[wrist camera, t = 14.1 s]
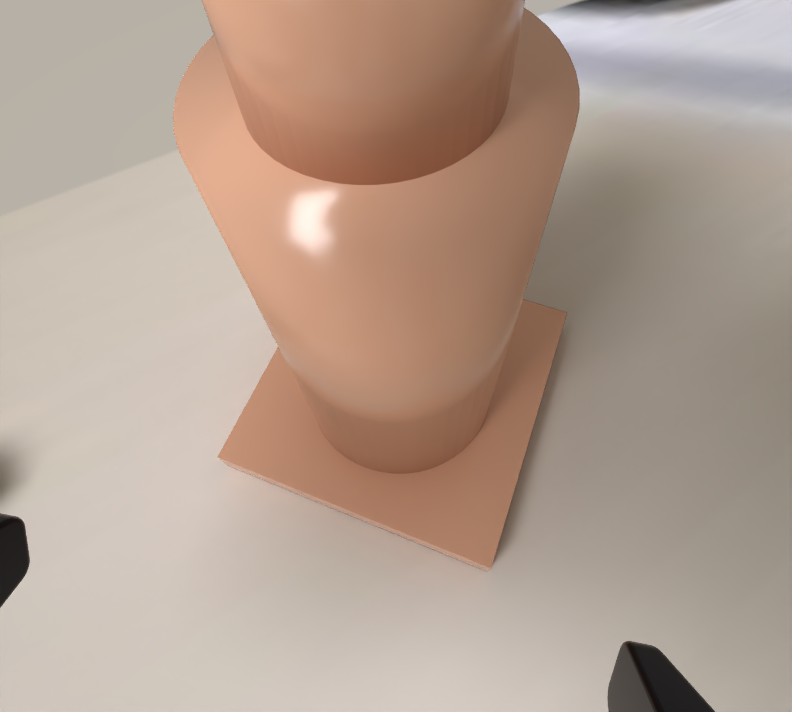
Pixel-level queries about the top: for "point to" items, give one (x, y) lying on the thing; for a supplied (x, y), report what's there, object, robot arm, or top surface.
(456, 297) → the terracotta vase
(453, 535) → the terracotta tile
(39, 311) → the top surface
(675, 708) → the robot arm
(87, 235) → the top surface
